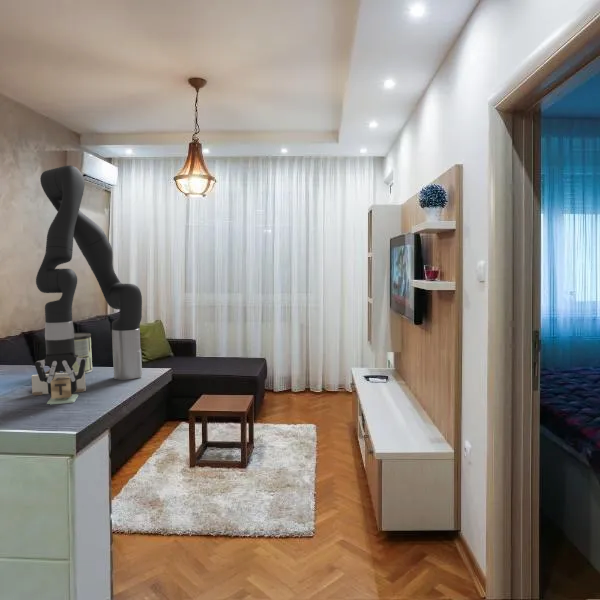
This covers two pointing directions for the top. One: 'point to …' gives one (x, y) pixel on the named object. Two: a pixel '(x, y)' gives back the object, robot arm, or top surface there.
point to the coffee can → (82, 351)
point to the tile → (63, 400)
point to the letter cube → (61, 387)
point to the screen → (42, 387)
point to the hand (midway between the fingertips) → (62, 393)
